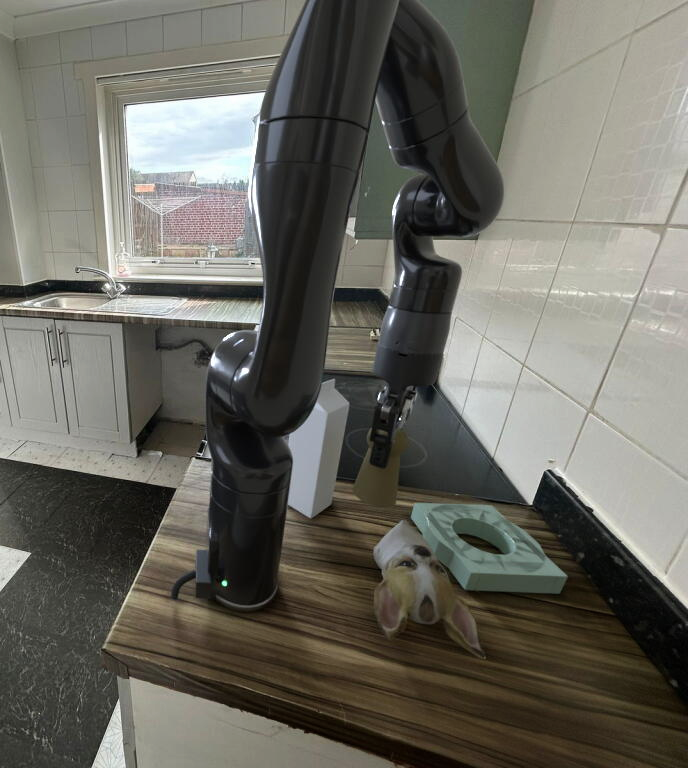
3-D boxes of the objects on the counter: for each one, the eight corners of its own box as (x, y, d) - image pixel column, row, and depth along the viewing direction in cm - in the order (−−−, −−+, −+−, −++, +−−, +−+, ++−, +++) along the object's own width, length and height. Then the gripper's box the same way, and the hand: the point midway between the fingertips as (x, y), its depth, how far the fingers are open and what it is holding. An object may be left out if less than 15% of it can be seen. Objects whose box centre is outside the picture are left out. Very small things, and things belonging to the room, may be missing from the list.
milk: (331, 504, 68) (355, 384, 60) (310, 519, 65) (332, 393, 56) (301, 487, 72) (319, 372, 64) (279, 500, 69) (296, 380, 61)
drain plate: (458, 590, 52) (464, 572, 51) (405, 517, 65) (409, 502, 64) (566, 594, 52) (575, 576, 51) (491, 520, 65) (497, 505, 64)
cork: (387, 484, 63) (403, 420, 59) (403, 509, 57) (422, 440, 53) (347, 481, 63) (360, 418, 59) (359, 505, 58) (375, 437, 54)
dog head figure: (451, 515, 52) (511, 623, 39) (434, 563, 56) (484, 677, 43) (363, 504, 54) (392, 602, 41) (352, 551, 58) (376, 655, 45)
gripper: (392, 329, 59) (369, 432, 65) (364, 348, 49) (339, 468, 55) (452, 338, 55) (421, 447, 61) (435, 362, 44) (400, 490, 50)
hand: (383, 457), depth 58 cm, fingers closed on cork, 5 cm apart
